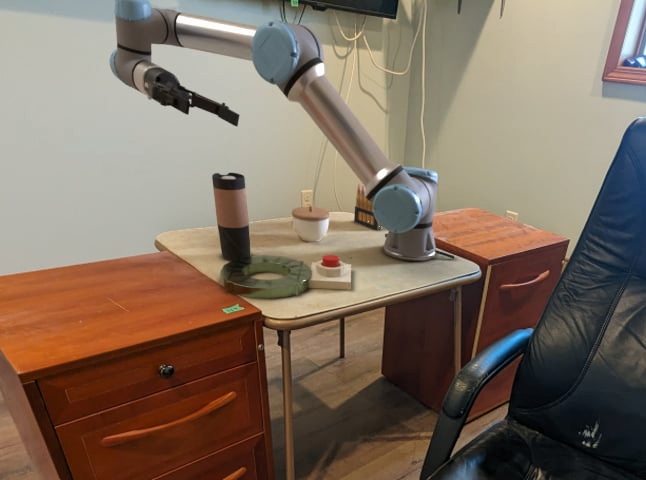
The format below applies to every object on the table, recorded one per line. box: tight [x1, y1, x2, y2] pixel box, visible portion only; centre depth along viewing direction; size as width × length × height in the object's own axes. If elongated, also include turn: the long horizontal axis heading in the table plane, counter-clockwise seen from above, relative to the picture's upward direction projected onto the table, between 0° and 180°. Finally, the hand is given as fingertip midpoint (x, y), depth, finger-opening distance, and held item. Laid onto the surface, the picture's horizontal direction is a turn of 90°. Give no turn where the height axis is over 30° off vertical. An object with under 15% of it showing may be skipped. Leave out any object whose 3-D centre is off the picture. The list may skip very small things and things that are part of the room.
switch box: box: [308, 259, 352, 291], centre depth 128 cm, size 10×12×4 cm
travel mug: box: [211, 172, 252, 262], centre depth 130 cm, size 8×8×20 cm
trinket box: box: [291, 205, 330, 243], centre depth 150 cm, size 11×11×9 cm
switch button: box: [321, 254, 340, 268], centre depth 126 cm, size 4×4×2 cm
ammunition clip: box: [353, 183, 382, 231], centre depth 166 cm, size 11×2×12 cm, turn 49°
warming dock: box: [219, 254, 312, 300], centre depth 124 cm, size 21×21×2 cm
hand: (213, 114), depth 119 cm, fingers open, 13 cm apart
